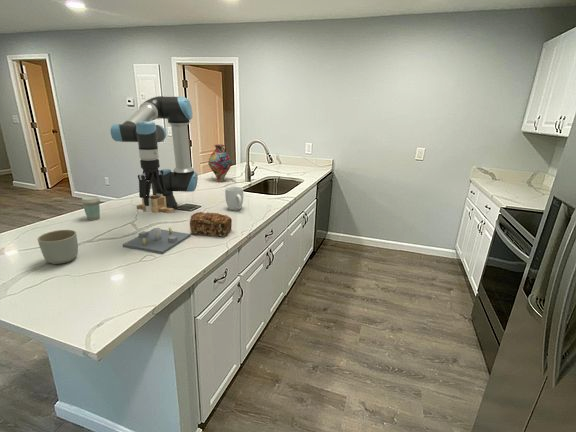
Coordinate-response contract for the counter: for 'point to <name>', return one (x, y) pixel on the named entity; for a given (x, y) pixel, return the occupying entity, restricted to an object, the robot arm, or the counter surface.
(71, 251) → the planter
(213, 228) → the bread
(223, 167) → the vase
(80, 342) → the counter surface
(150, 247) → the post base
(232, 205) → the mug
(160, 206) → the wooden frame with handle
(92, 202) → the coffee cup
